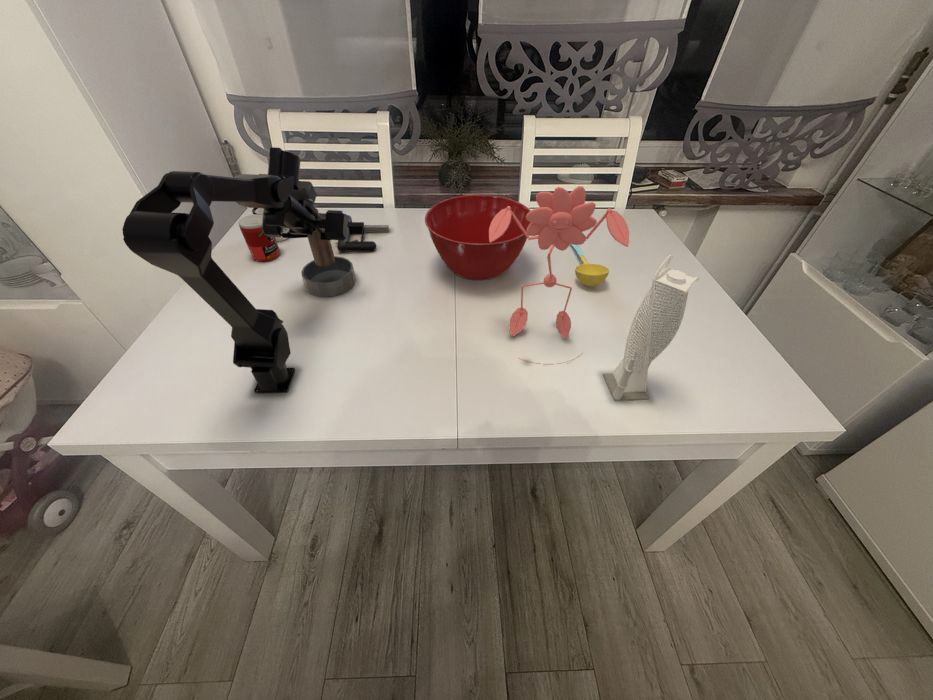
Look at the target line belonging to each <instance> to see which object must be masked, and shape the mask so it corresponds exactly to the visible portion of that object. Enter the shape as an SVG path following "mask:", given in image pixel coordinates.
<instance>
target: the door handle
mask: <svg viewBox="0 0 933 700" xmlns="http://www.w3.org/2000/svg"><path fill="white" fill-rule="evenodd" d="M346 215H347V216H348V220H347V234H346V239H345V240H344V241H343V240H337V242H335V244H336V248H337V250H338V252H341V253H344V252H353V251H354V252H373V251H375V250H376V249H377V243H376V242H375V241H373V240H365V241H364V237H365V233H390V224H365V222H364V221H353V219H352V216H351V215H349V214H346ZM351 235H361V236H360V240H358V239H353V240H350V237H351Z"/></svg>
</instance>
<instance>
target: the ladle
mask: <svg viewBox="0 0 933 700" xmlns="http://www.w3.org/2000/svg"><path fill="white" fill-rule="evenodd" d="M570 245H571V247H573V249H574V250H575V252H576V253H577V255H578V257H579V258H580V259H581V261H582V263H581V264H578V265H576V266H575V268H574V274H575V277H576V279H577V280H578V281H579V282H580V283H581V284H582V285H584V286H586V287H594V286H599V285H600V284H602V283H603V282H604V281H605V280H606V279H607V278H608V276H609V274H610V271H611V270H610V268H609V267H607V266H605V265H603V264H599V263H598V264H597V263H589V262H588V260H587V258H586V257H585V255H584V253H583V251H582V249H581V248H580V247H579V245H573V244H570Z"/></svg>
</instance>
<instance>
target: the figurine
mask: <svg viewBox="0 0 933 700" xmlns="http://www.w3.org/2000/svg"><path fill="white" fill-rule="evenodd" d="M586 197H587V193H586V189H585V188H584V186H581V185H578V186H577V187H575V188H573V190H571V192H569V191H568V190H567V189H565V188H564V187H562V186H557V187H556V188H555V189H554V191H553V192H551V191H540V192H537V193H536V195H535V200H536V203H537V205H538V207H536V208H533V209H531V210H530V212H529V213H528V214H527V215H526V220H528V221H529V222H531V223H530V224H529V225H528V227H527V230H526V231H525V230H524V228H523V227H522V225H521V224H520V222H519V221H518V219H517V218H516V216H515V215H514V213H513V212H512V210H511V207H510V206H507V208H505V209H502V210H501V211H500V212H499V213H497V214H496V215H495V217H494V218H493V220H492V222H491V224H490V228H489V241H490V243H491V242H493V241H495V240H496V239H498V238H499V237H501V236H502V235H503V234H504V233H505V231H506V230H507V229H508V227H509V225H510V223H511V216H512V217H513V218H514V220H515V221H516V223H517V224H518V226H519V227H520V229H521V230H522V232H523V233H524V235H525V236H526V238H527V240H528V241H532V240H537V244H538V248H539V249H540V250H541V251H546V250H548V249H549V251H548V252H547V257H546V258H547V266H548V272H549V274H547V275H545V276H544V278H543V281H542V282H535V283H527V284H522V285H520V286H521V288H520V289H521V291H520V295H521V296H520V307H518V308H516V309H515V310H514V311H513V313H512V314H511V316H510V318H509V323H508V328H509V333H510V336H511V337H514V336H517V334H519V333H520V332H522V330H523V329H524V328H525V327H526V325H527V322H528V315H529V314H528V313H529V312H528V310H527V309H526V307H523V306H524V305H523V304H524V287H530V286H538V285H540V286H541V285H544V286H545V287H547V288H554V287H555V286H559V287H562V288H566V289H569V291H568V294H567V298H566V302H565V305H564V308H563V310H560V311H559V312H558V313H557V314H556V320H555V326H556V329H557V332H558V333H559V334H560V335H561V336H562V337H563V338H564V339H565V340H568V338H569V336H570V332H571V329H572V319H571V317H570V316H569V314H568V312H567V311H566V310H567V306H568V304H569V300H570V298H571V297H570V296H571V294H572V290H573V287H572V286H569V285H565V284H562V283H558V282H557V281H558V280H557V277H556V276H555V275H554V274H553V273H552V262H551V261H552V260H551V255H552V252H553V251H554V248H556V249H557V250H559V251H562V252H563V251H566V250H567V249H568V248H569V247H570V245H571V244H573V245H577V246H581V245H583V244H585V242H586V241H587V240H588V239H589V238H591V236H592V234H594V232H595V231H596V230H597V229H598V228H599V226H600V225H601V224H602V223H603V221H604V220H606V228H607V229H608V232H609V234H610V236H611V237H612V239H614V240H615V241H616V242H617V243H619V244H620V245H622V246H624V247H626V248H628V247H629V246H630V245H629V244H630V230H629V227H628V223H627V221H626V220H625V218H624V216H622V215H621V214H620V212H618V211H617V210H612V208H611V207H609V208H607V209H606V211H605V213H604V214H603V216H602V217H601V218H600V219H599V220H598V221H597V219H596V218H595V217H593V214H594V212H595V210H596V203H595V202H593V201H591V202H586ZM590 229H591V230H590ZM586 231H589V232H588V234H587V235H586V234H584V232H586ZM582 354H583V352H582V353H581V355H582ZM579 357H580V355H577V357H575V358H573V359H569V360H568V361H565V362H563V364H565V363H566V364H567V365H568V364H571V363H572V362H571V361H573V360H574V361H575V359H577V358H579ZM518 359H519V360H522V361H524V362H528V363H532V364H534V362H532V361H529V360H525V359H522V358H520V357H518ZM535 364H537V365H540V363H539V362H535ZM560 364H562V362H559V363H558V365H560ZM551 365H553V363H544V366H551Z"/></svg>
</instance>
